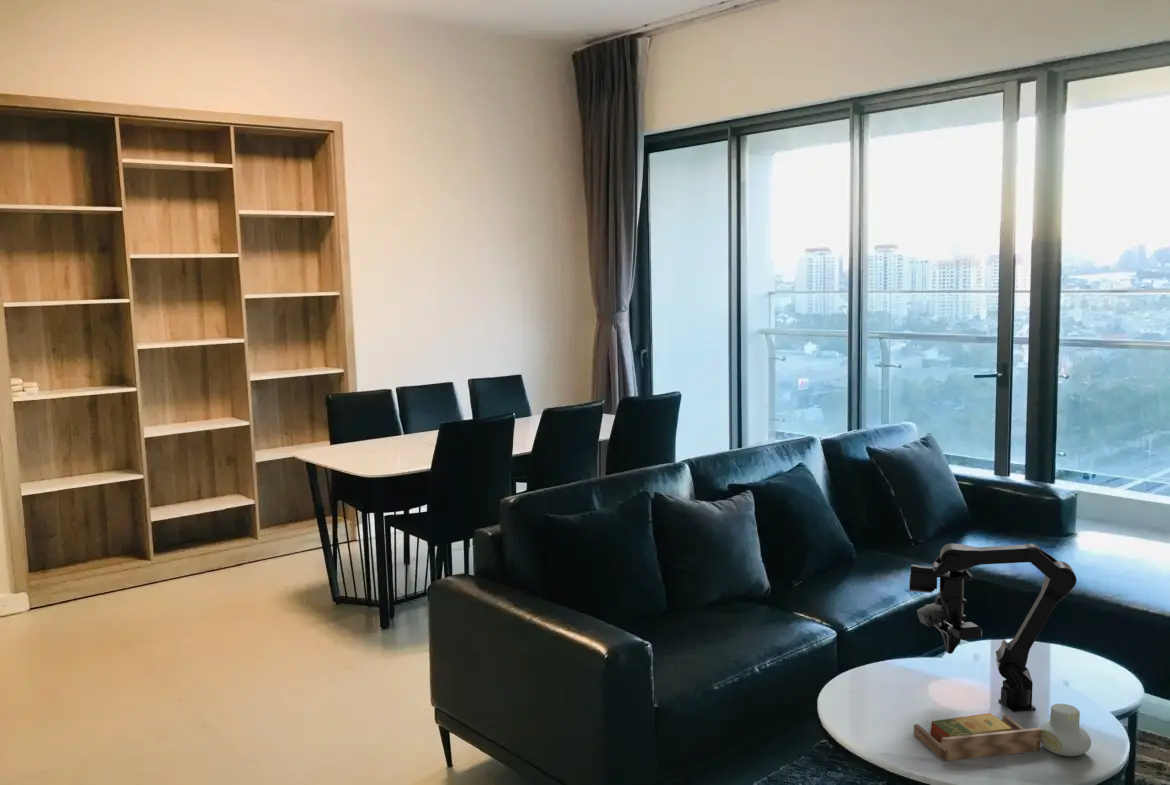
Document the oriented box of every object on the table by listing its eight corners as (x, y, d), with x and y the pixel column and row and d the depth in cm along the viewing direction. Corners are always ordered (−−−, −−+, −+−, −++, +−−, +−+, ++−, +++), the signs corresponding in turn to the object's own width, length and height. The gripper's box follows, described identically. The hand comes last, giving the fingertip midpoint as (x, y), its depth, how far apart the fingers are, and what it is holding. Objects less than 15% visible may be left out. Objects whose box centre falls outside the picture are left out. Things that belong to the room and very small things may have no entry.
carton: (1012, 745, 221) (1013, 727, 220) (950, 753, 218) (951, 735, 217) (989, 728, 229) (990, 711, 229) (929, 736, 226) (930, 719, 225)
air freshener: (1097, 758, 214) (1099, 715, 213) (1069, 765, 211) (1071, 721, 210) (1057, 736, 224) (1059, 696, 223) (1030, 743, 221) (1032, 702, 220)
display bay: (1005, 725, 230) (1006, 705, 230) (1040, 750, 217) (1041, 729, 217) (913, 734, 226) (914, 714, 226) (943, 760, 213) (943, 739, 213)
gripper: (903, 585, 250) (902, 642, 252) (943, 608, 232) (941, 670, 234) (942, 582, 252) (940, 639, 254) (984, 605, 234) (982, 666, 236)
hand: (949, 653), depth 244 cm, fingers closed
